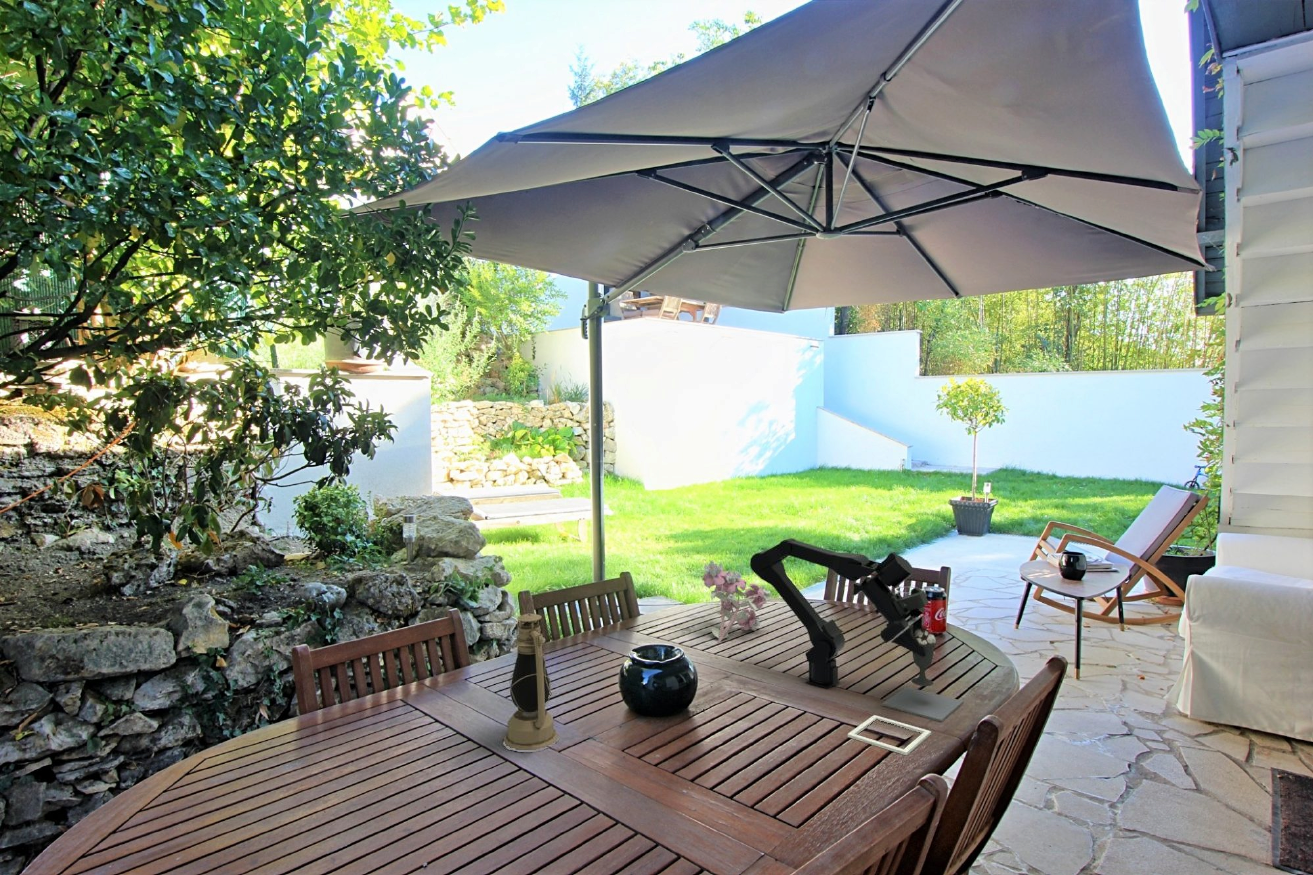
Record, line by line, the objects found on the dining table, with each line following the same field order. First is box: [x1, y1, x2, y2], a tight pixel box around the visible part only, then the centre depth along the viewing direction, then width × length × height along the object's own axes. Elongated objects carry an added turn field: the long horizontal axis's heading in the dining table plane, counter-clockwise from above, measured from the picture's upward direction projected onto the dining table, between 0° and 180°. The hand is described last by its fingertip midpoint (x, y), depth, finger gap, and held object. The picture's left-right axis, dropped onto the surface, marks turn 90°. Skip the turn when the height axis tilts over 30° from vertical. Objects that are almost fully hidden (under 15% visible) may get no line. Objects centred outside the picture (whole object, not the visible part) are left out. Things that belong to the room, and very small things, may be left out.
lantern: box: [503, 600, 558, 750], centre depth 156 cm, size 14×12×30 cm
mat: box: [881, 686, 964, 723], centre depth 174 cm, size 14×14×1 cm
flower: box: [701, 559, 772, 643], centre depth 228 cm, size 20×22×25 cm
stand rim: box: [847, 714, 932, 756], centre depth 157 cm, size 13×13×1 cm
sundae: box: [911, 619, 939, 687], centre depth 173 cm, size 7×7×15 cm
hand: (928, 651), depth 173 cm, fingers closed on sundae, 6 cm apart
